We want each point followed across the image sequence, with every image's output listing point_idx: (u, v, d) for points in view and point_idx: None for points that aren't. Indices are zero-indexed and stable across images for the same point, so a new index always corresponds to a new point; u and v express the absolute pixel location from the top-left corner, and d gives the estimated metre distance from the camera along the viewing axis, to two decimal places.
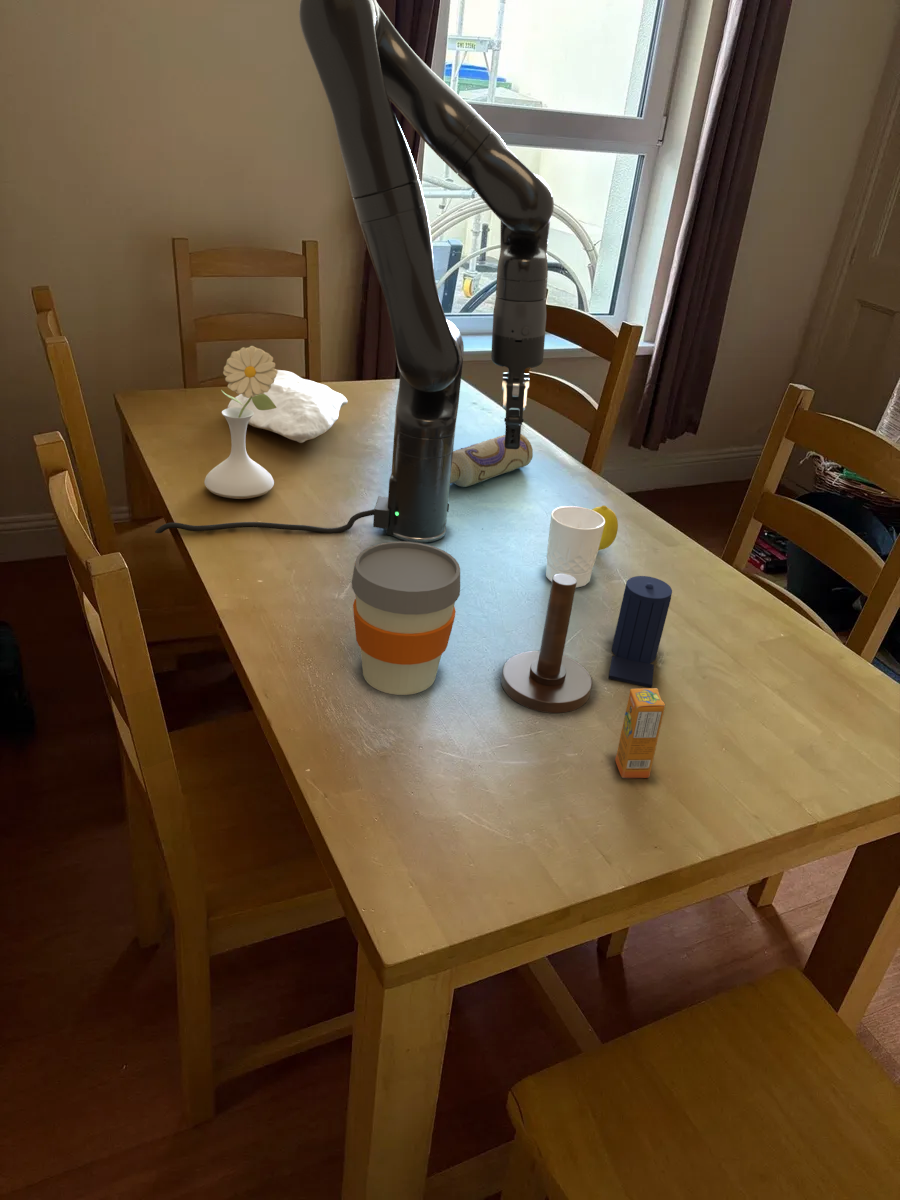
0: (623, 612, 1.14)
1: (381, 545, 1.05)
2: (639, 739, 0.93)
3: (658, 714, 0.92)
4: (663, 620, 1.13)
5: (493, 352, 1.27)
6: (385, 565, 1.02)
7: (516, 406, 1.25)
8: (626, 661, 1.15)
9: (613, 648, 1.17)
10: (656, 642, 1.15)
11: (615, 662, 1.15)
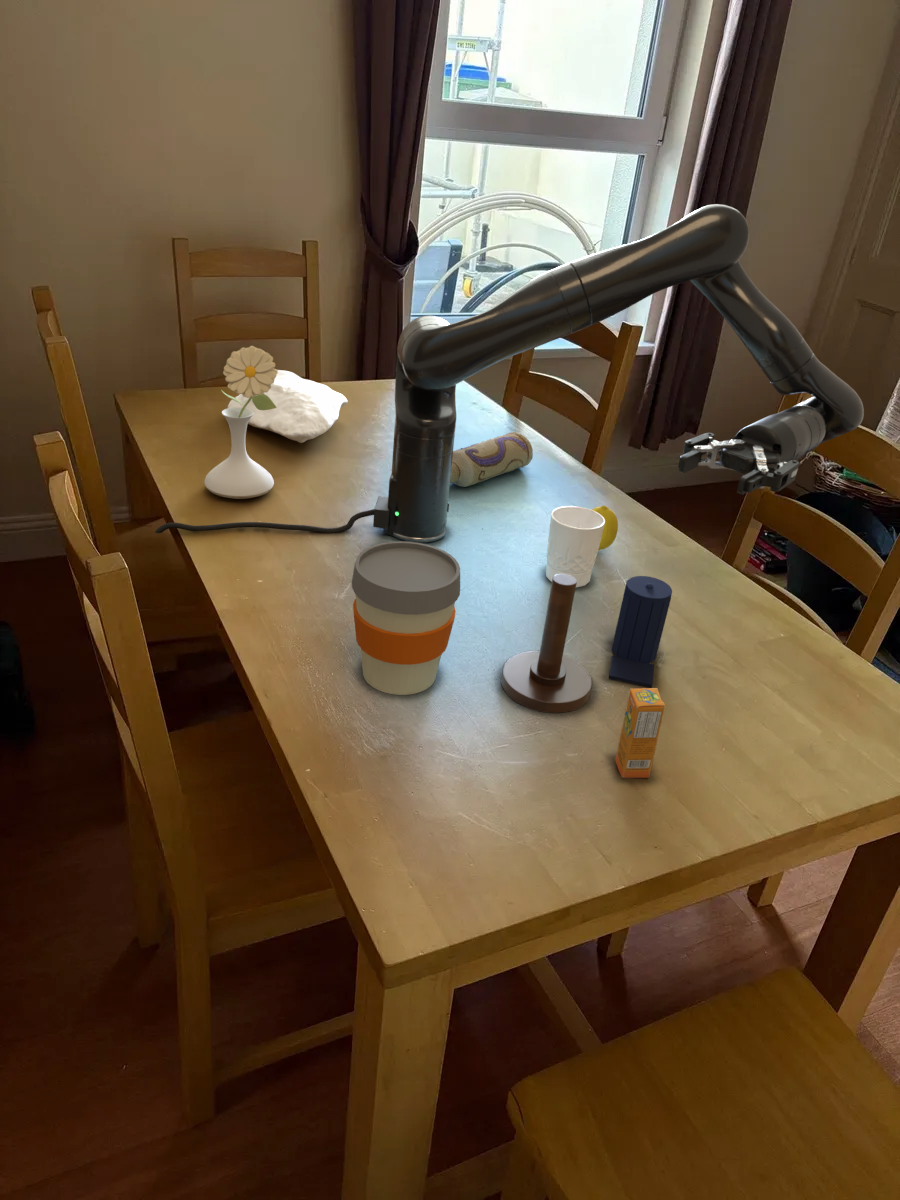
0: (623, 612, 1.14)
1: (381, 545, 1.05)
2: (639, 739, 0.93)
3: (658, 714, 0.92)
4: (663, 620, 1.13)
5: (777, 428, 1.19)
6: (385, 565, 1.02)
7: (787, 479, 1.14)
8: (626, 661, 1.15)
9: (613, 648, 1.17)
10: (656, 642, 1.15)
11: (615, 662, 1.15)
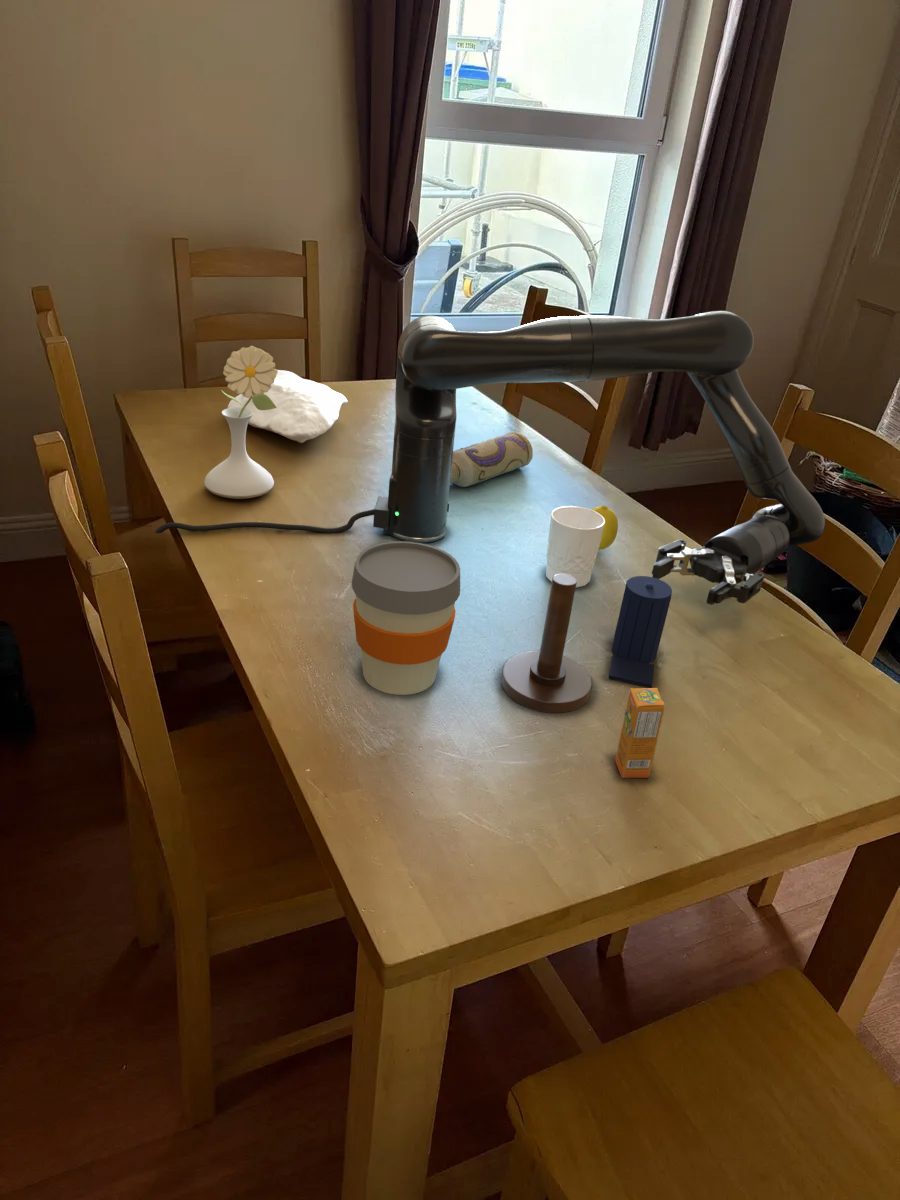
0: (623, 612, 1.14)
1: (381, 545, 1.05)
2: (639, 739, 0.93)
3: (658, 714, 0.92)
4: (663, 620, 1.13)
5: (744, 540, 1.27)
6: (385, 565, 1.02)
7: (753, 591, 1.21)
8: (626, 661, 1.15)
9: (613, 648, 1.17)
10: (656, 642, 1.15)
11: (615, 662, 1.15)
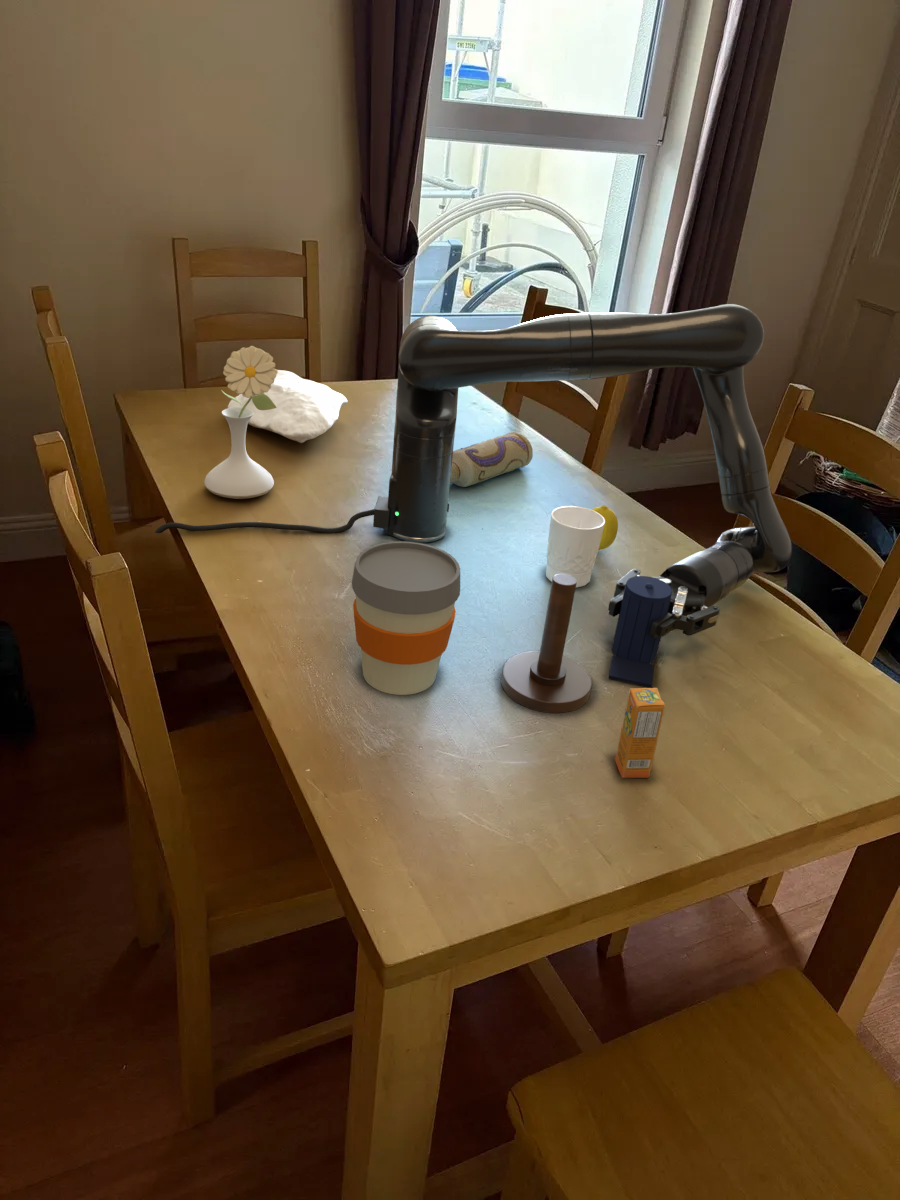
0: (623, 612, 1.14)
1: (381, 545, 1.05)
2: (639, 739, 0.93)
3: (658, 714, 0.92)
4: None
5: (703, 569, 1.20)
6: (385, 565, 1.02)
7: (703, 624, 1.14)
8: (626, 661, 1.15)
9: (613, 648, 1.17)
10: (656, 642, 1.15)
11: (615, 662, 1.15)
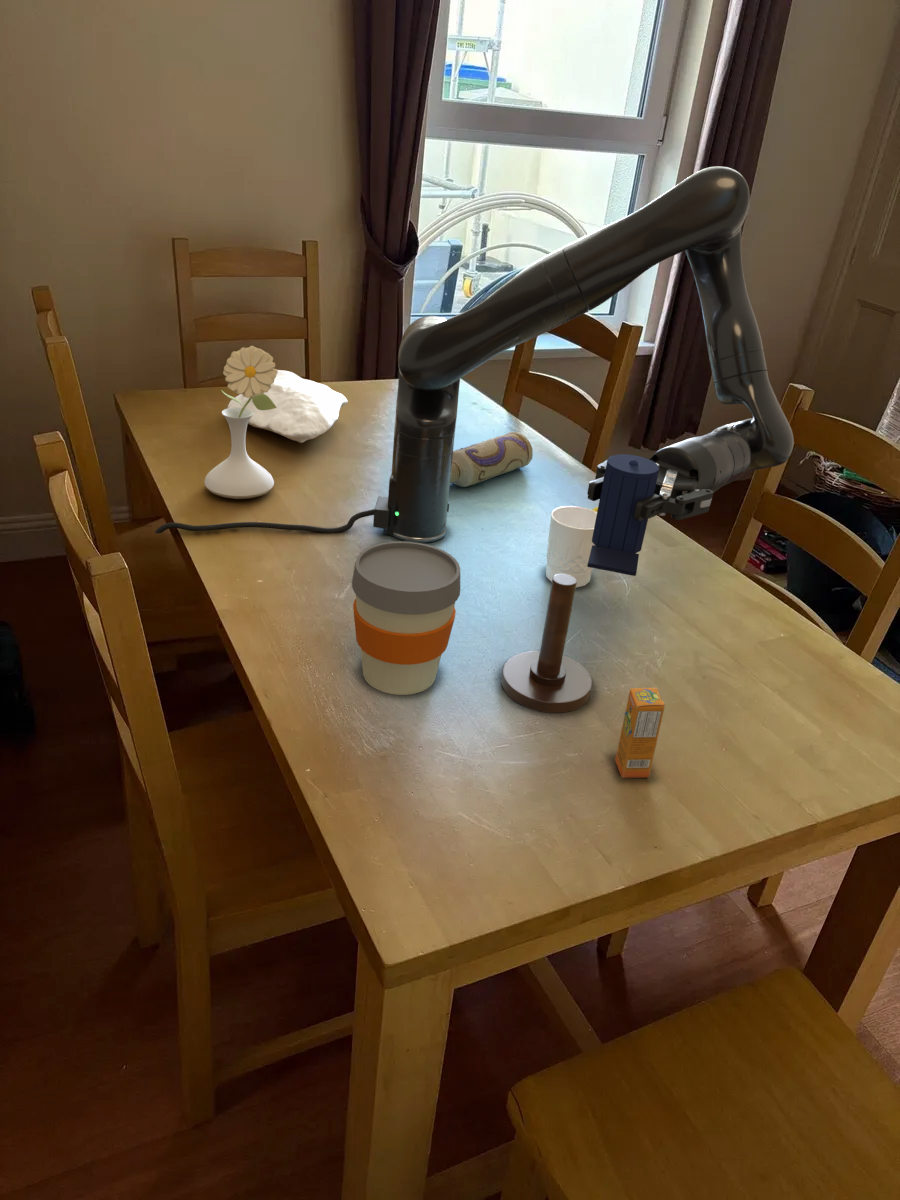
0: (604, 494, 1.01)
1: (381, 545, 1.05)
2: (639, 739, 0.93)
3: (658, 714, 0.92)
4: None
5: (695, 452, 1.07)
6: (385, 565, 1.02)
7: (694, 508, 1.01)
8: (607, 550, 1.02)
9: (593, 538, 1.04)
10: (641, 528, 1.01)
11: (595, 551, 1.01)
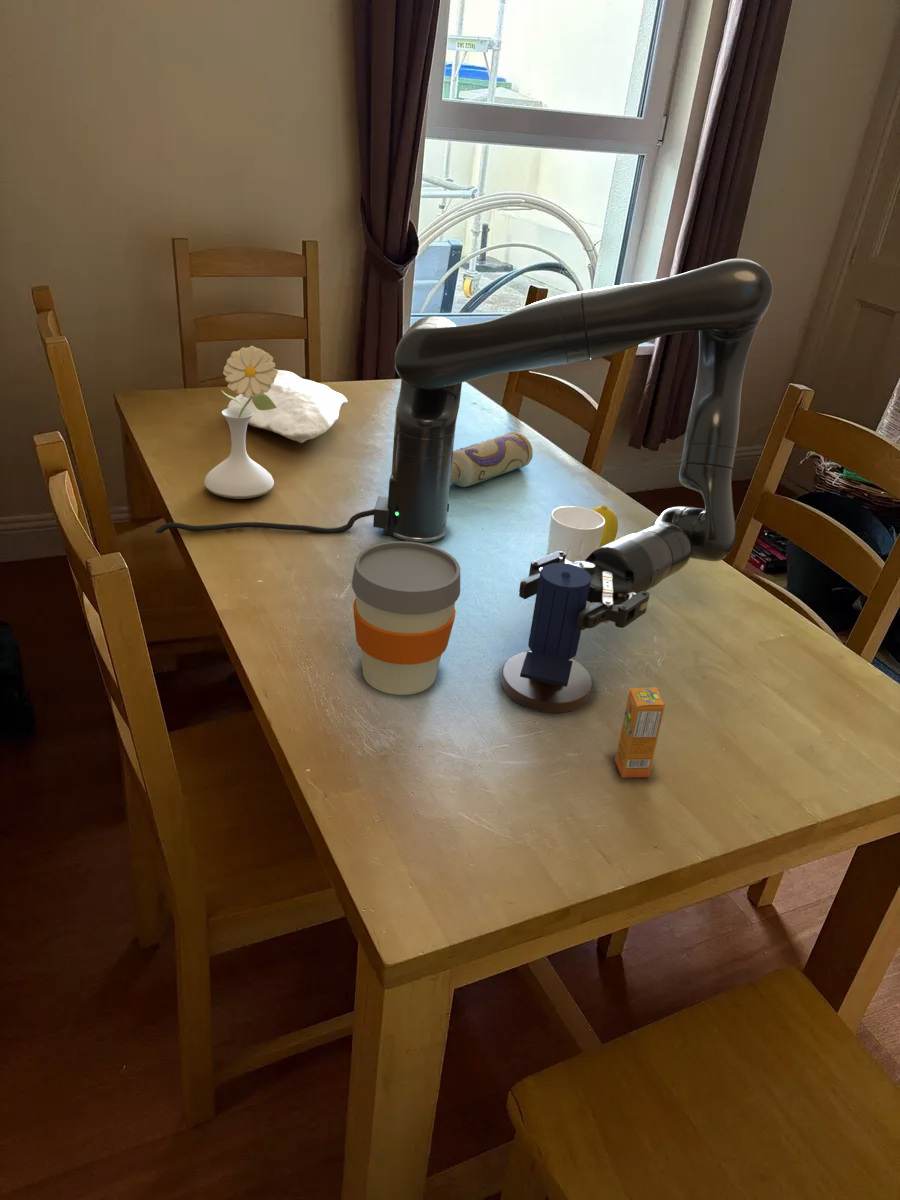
0: (538, 603, 1.03)
1: (381, 545, 1.05)
2: (639, 739, 0.93)
3: (658, 713, 0.92)
4: None
5: (630, 553, 1.08)
6: (385, 565, 1.02)
7: (635, 613, 1.03)
8: (542, 657, 1.04)
9: (529, 643, 1.06)
10: (575, 636, 1.03)
11: (529, 658, 1.03)
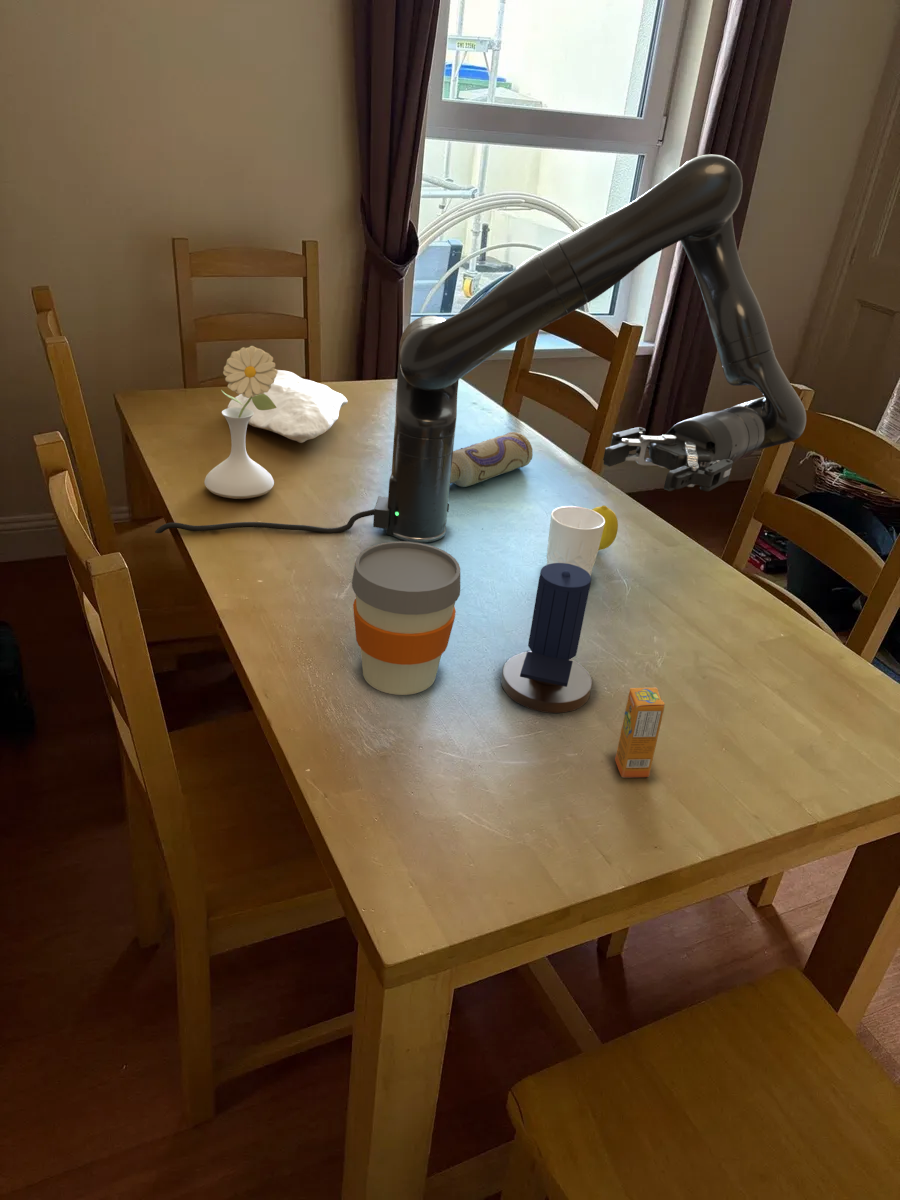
0: (538, 603, 1.03)
1: (381, 545, 1.05)
2: (639, 739, 0.93)
3: (658, 713, 0.92)
4: (582, 612, 1.02)
5: (711, 425, 1.10)
6: (385, 565, 1.02)
7: (719, 478, 1.05)
8: (542, 657, 1.04)
9: (529, 643, 1.06)
10: (575, 636, 1.03)
11: (529, 658, 1.03)
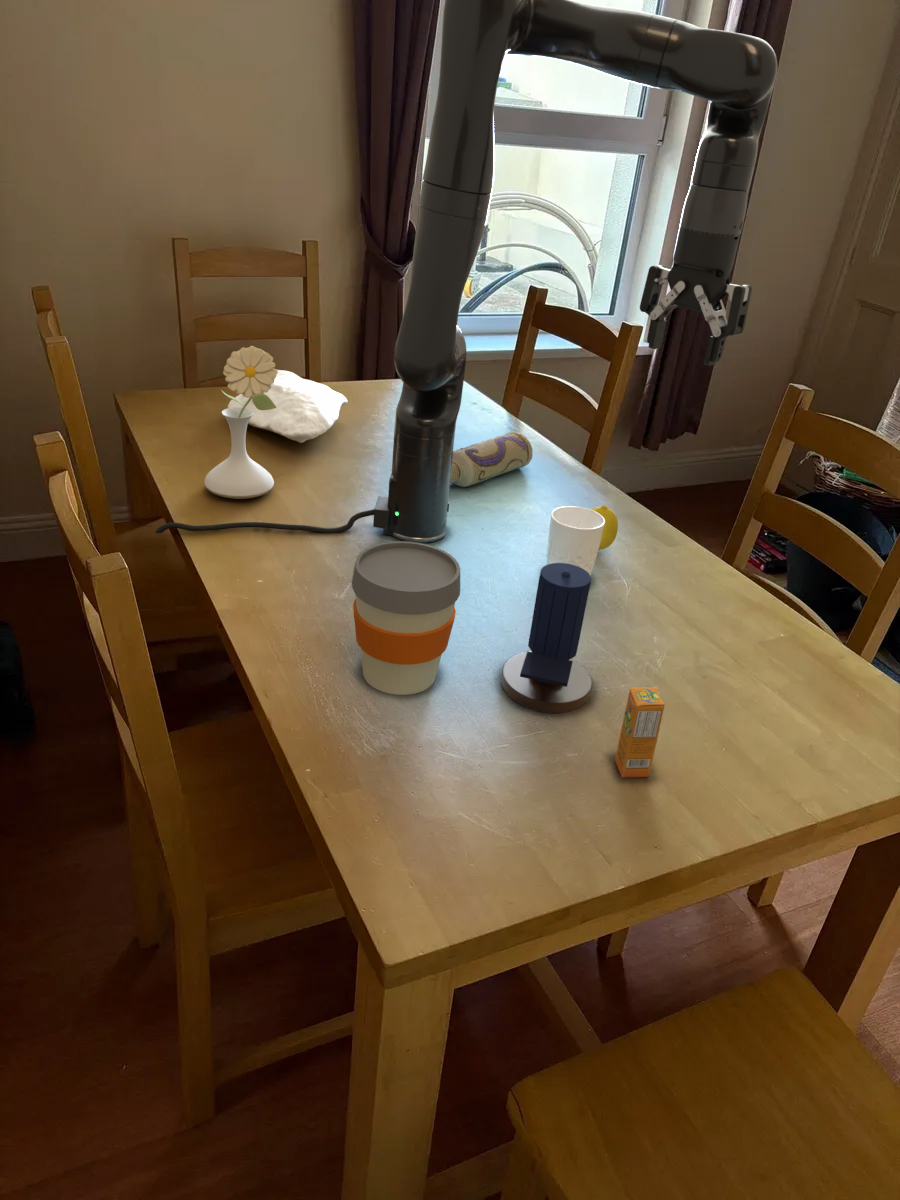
0: (538, 603, 1.03)
1: (381, 545, 1.05)
2: (639, 739, 0.93)
3: (658, 713, 0.92)
4: (582, 612, 1.02)
5: (701, 255, 1.09)
6: (385, 565, 1.02)
7: (743, 312, 1.12)
8: (542, 657, 1.04)
9: (529, 643, 1.06)
10: (575, 636, 1.03)
11: (529, 658, 1.03)
